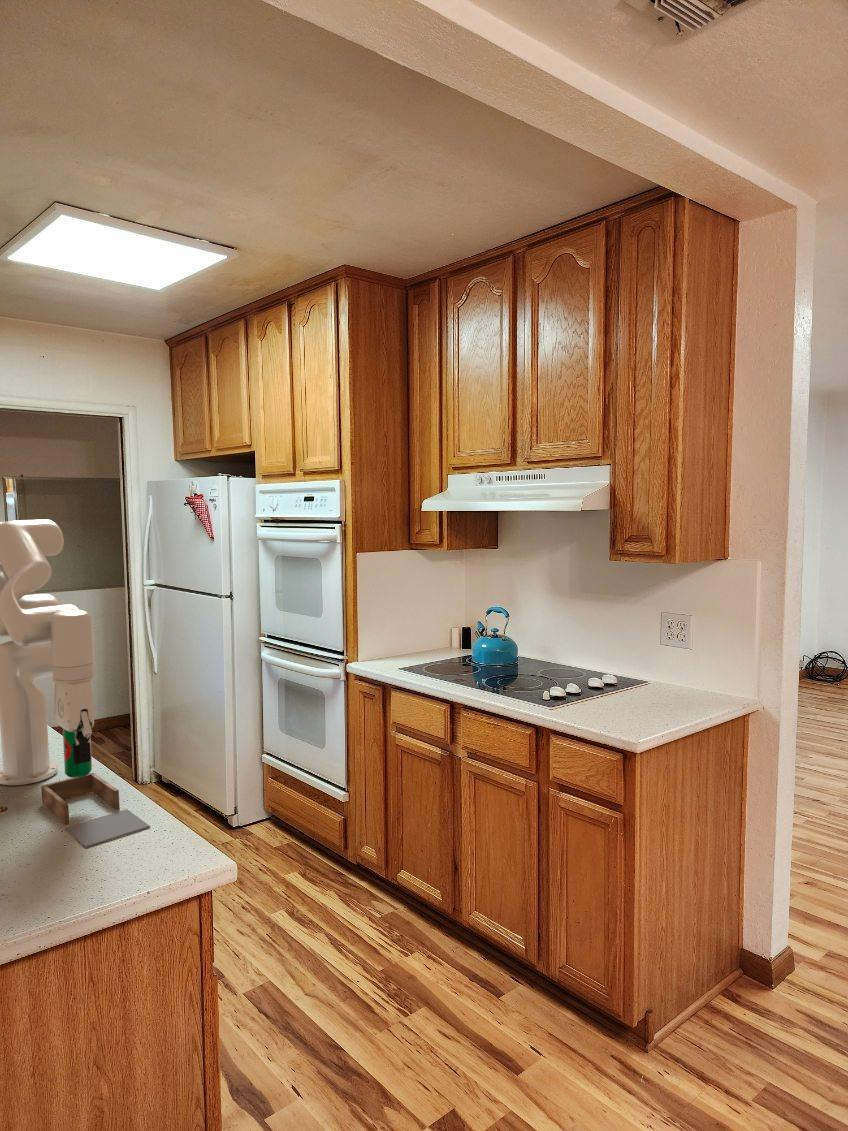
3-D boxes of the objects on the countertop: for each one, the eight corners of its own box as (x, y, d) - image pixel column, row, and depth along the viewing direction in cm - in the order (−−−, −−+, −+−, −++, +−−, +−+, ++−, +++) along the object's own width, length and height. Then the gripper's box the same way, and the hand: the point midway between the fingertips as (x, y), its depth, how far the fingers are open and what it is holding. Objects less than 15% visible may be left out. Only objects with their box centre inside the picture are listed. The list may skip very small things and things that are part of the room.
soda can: (81, 779, 153) (79, 722, 152) (59, 777, 154) (56, 720, 153) (97, 770, 158) (95, 714, 156) (75, 767, 159) (73, 712, 157)
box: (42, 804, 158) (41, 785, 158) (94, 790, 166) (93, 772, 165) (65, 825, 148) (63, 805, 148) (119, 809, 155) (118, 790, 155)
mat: (64, 829, 146) (64, 827, 146) (127, 810, 155) (126, 808, 154) (85, 848, 138) (85, 846, 138) (149, 827, 147) (149, 825, 146)
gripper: (40, 667, 157) (44, 752, 159) (68, 683, 145) (73, 775, 147) (77, 661, 162) (81, 743, 164) (108, 676, 150) (112, 765, 152)
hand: (77, 757), depth 156 cm, fingers closed on soda can, 4 cm apart
